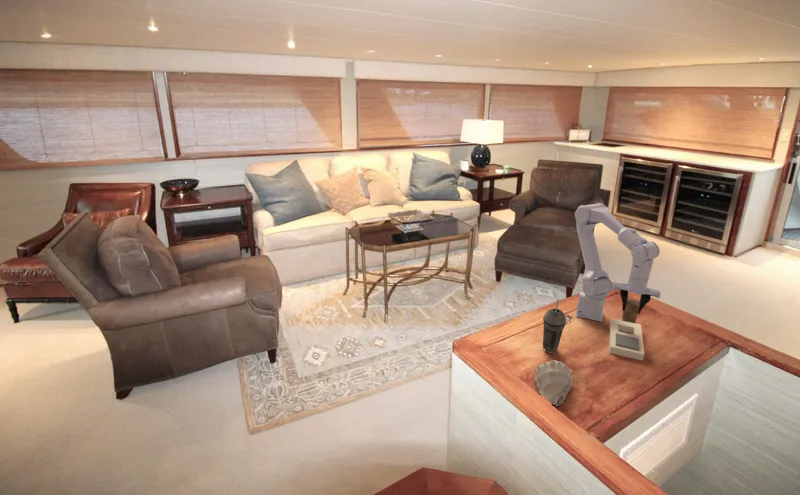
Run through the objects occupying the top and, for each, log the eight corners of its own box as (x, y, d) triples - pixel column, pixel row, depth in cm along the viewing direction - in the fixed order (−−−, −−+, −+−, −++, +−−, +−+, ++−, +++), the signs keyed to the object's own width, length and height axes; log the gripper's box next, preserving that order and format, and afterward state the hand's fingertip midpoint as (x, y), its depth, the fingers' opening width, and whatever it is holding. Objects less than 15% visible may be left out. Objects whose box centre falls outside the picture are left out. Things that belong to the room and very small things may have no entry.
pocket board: (609, 352, 141) (610, 346, 140) (609, 323, 158) (611, 318, 157) (642, 360, 137) (644, 354, 136) (639, 330, 154) (641, 324, 153)
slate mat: (615, 345, 141) (616, 343, 141) (615, 334, 147) (615, 333, 147) (639, 350, 138) (639, 349, 138) (638, 339, 144) (638, 338, 144)
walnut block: (622, 320, 148) (626, 303, 145) (622, 315, 151) (626, 298, 148) (635, 323, 146) (639, 306, 143) (634, 318, 149) (639, 300, 147)
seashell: (547, 410, 116) (552, 381, 113) (527, 377, 129) (531, 350, 126) (588, 406, 118) (594, 378, 114) (564, 374, 131) (569, 347, 127)
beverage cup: (561, 346, 144) (571, 295, 137) (559, 358, 138) (569, 305, 131) (540, 341, 147) (548, 290, 140) (537, 352, 141) (545, 300, 133)
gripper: (615, 276, 142) (608, 311, 147) (665, 285, 136) (655, 321, 141) (615, 269, 148) (608, 302, 153) (662, 277, 142) (653, 311, 147)
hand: (630, 311), depth 147 cm, fingers closed on walnut block, 4 cm apart
